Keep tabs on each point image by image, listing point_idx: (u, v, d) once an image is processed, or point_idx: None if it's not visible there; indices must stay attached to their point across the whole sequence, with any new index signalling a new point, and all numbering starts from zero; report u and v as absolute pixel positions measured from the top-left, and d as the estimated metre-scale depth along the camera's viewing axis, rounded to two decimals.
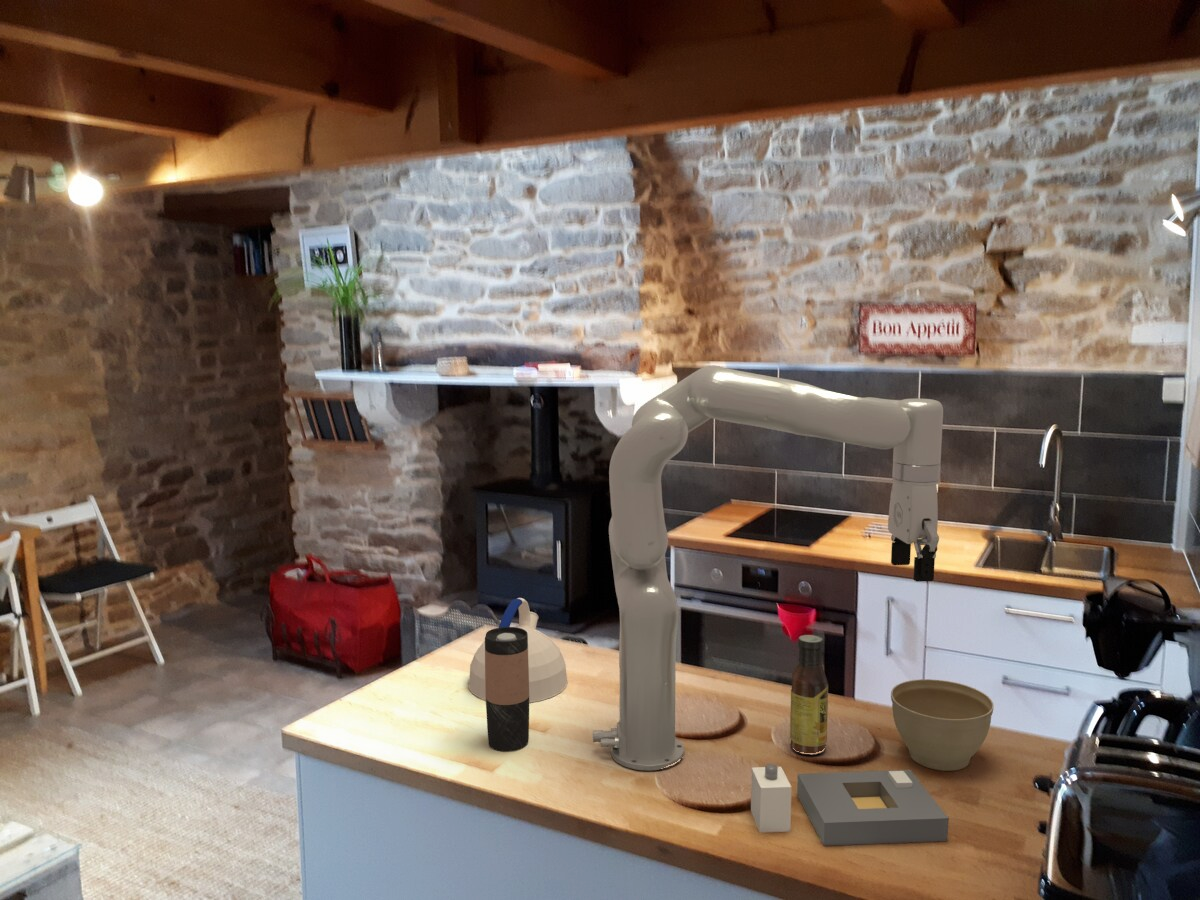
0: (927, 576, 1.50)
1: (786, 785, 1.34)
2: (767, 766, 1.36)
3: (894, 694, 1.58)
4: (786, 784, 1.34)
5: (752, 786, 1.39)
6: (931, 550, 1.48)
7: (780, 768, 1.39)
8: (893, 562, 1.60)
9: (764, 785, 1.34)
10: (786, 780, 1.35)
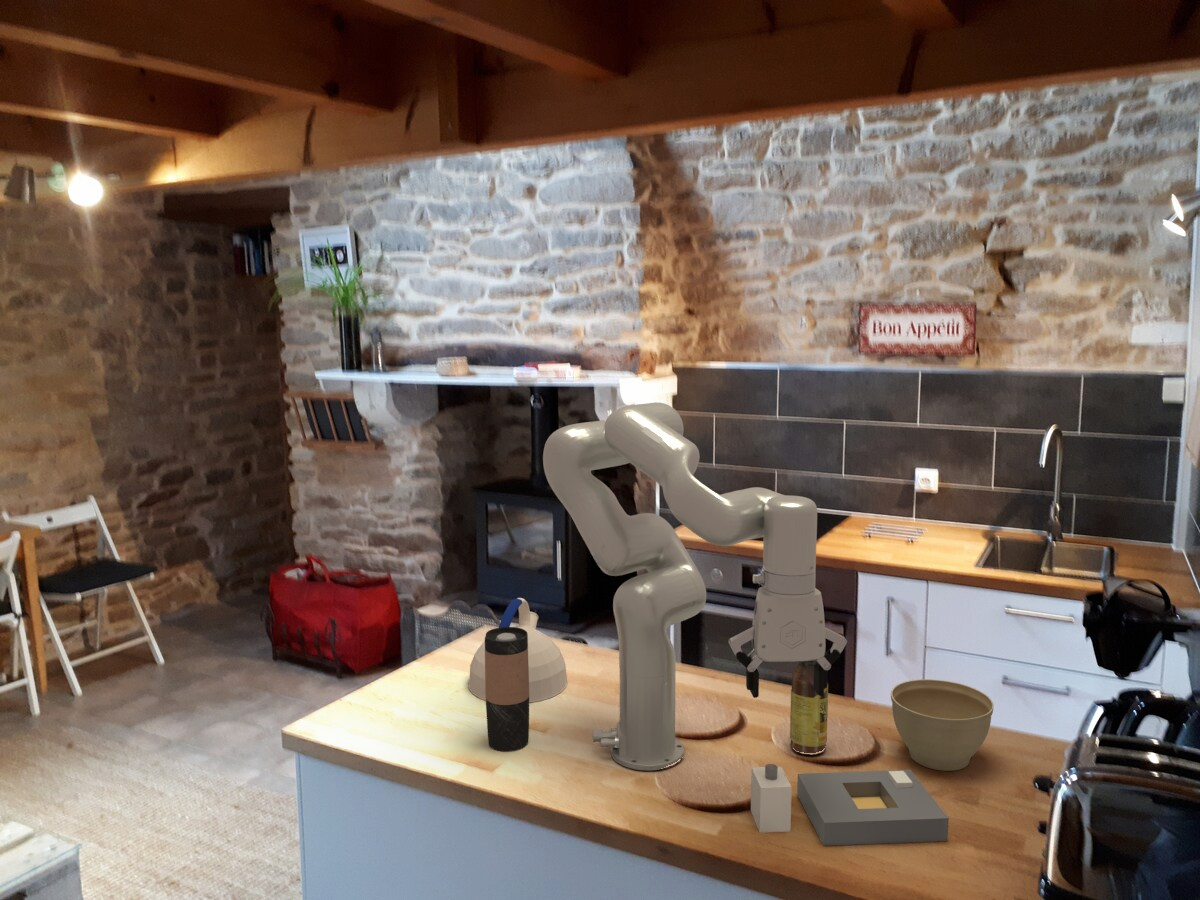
0: None
1: (786, 785, 1.34)
2: (767, 766, 1.36)
3: (894, 694, 1.58)
4: (786, 784, 1.34)
5: (752, 786, 1.39)
6: None
7: (780, 768, 1.39)
8: (757, 694, 1.35)
9: (764, 785, 1.34)
10: (786, 780, 1.35)
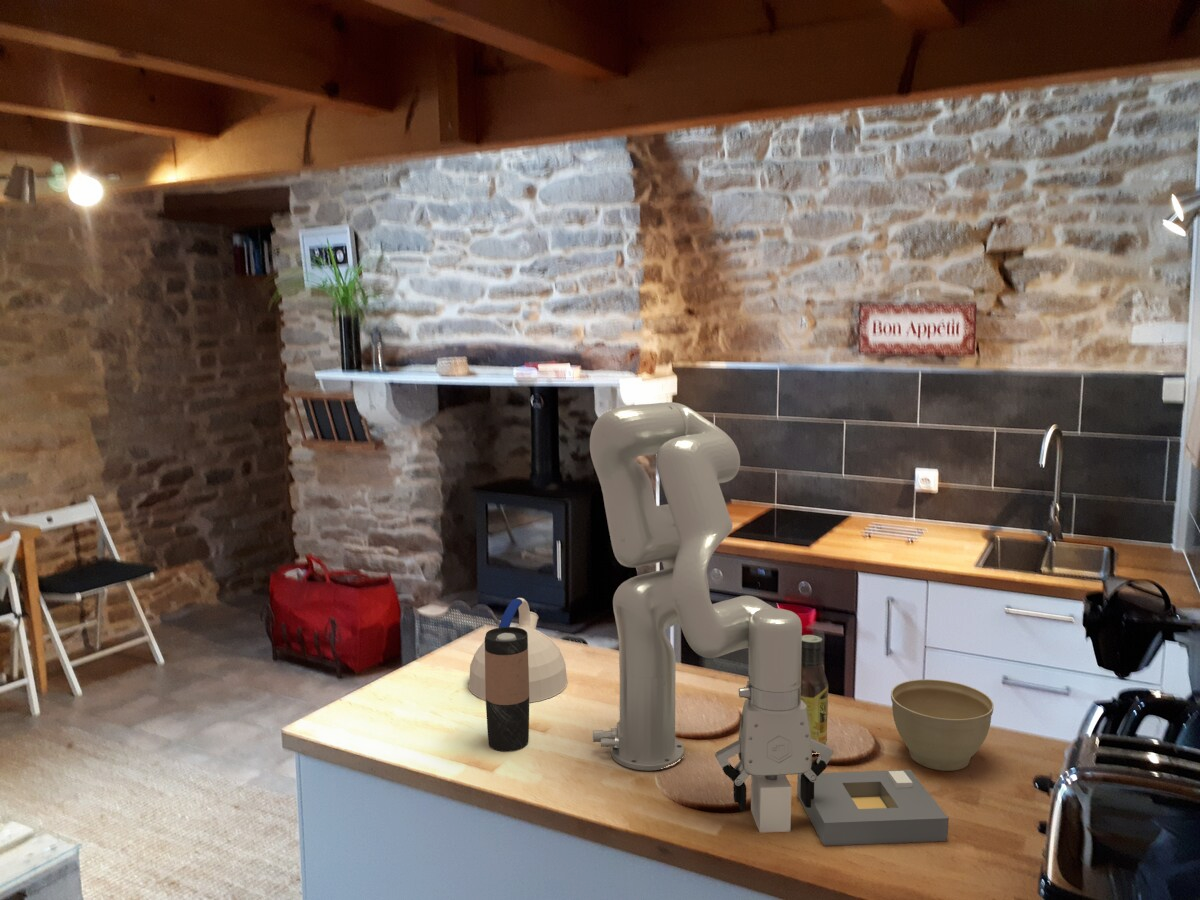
0: None
1: (786, 785, 1.34)
2: None
3: (894, 694, 1.58)
4: (786, 784, 1.34)
5: (752, 786, 1.39)
6: None
7: None
8: (745, 807, 1.35)
9: (764, 785, 1.34)
10: (786, 780, 1.35)
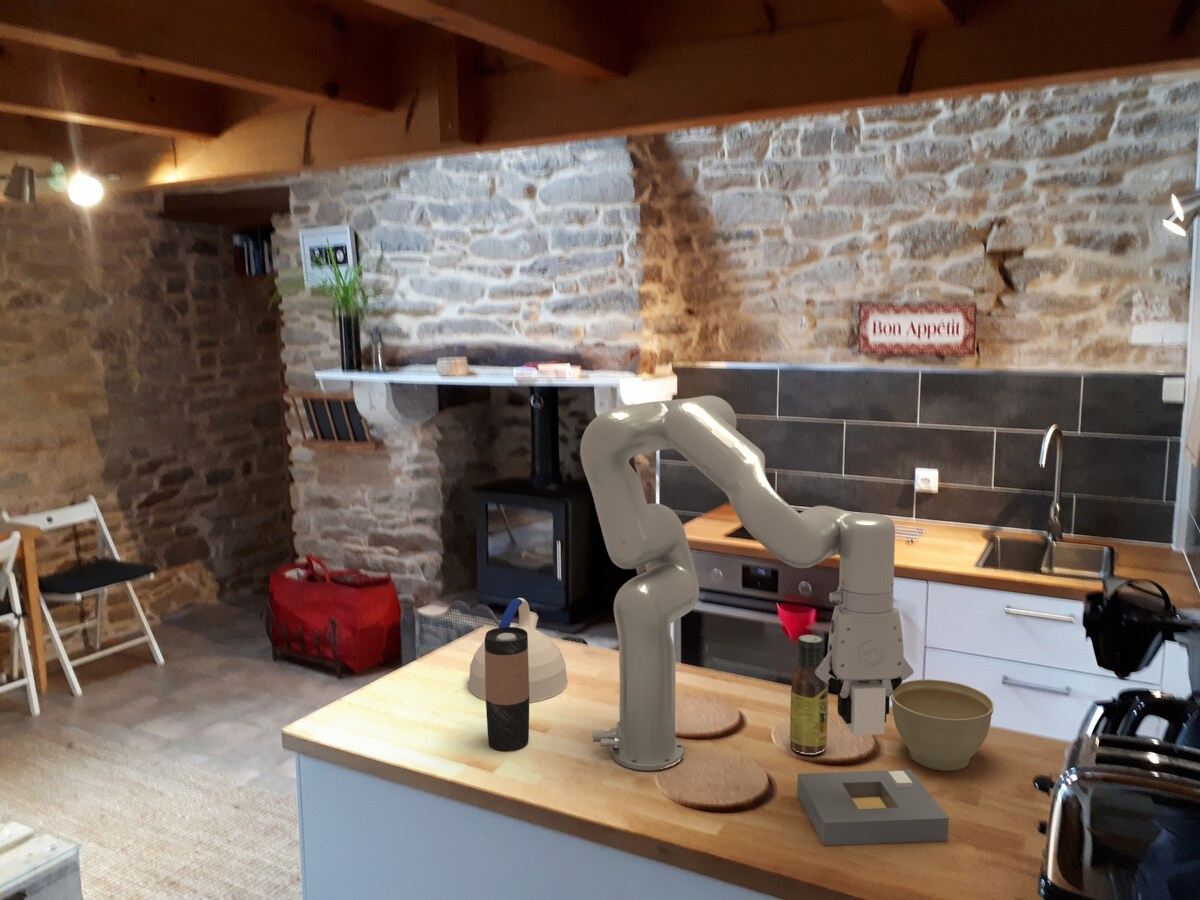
0: None
1: (880, 687, 1.32)
2: None
3: (894, 694, 1.58)
4: (880, 686, 1.33)
5: None
6: None
7: None
8: (850, 720, 1.34)
9: (857, 686, 1.33)
10: (879, 683, 1.34)
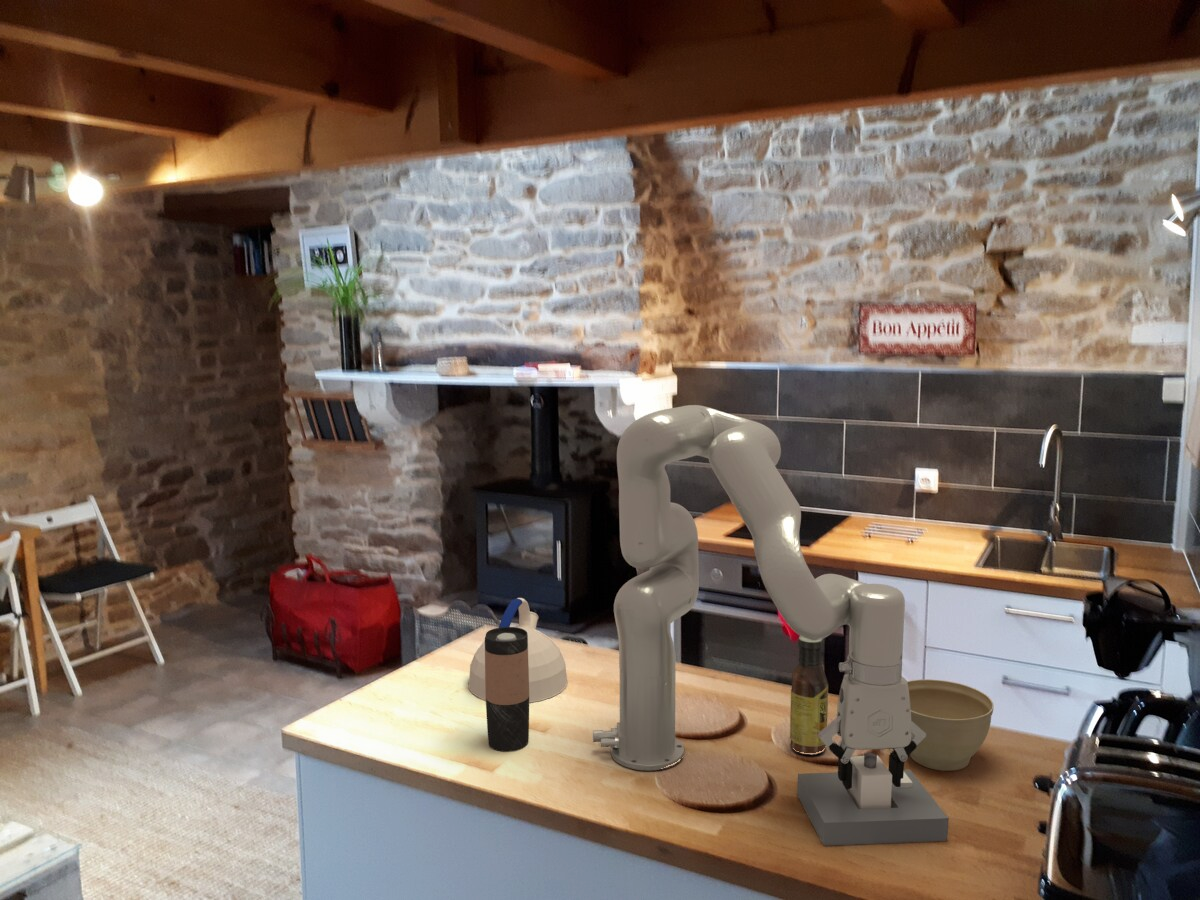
0: None
1: (887, 773, 1.35)
2: (866, 754, 1.37)
3: None
4: (886, 772, 1.35)
5: None
6: None
7: (877, 757, 1.40)
8: (851, 785, 1.36)
9: (864, 773, 1.35)
10: (885, 768, 1.36)
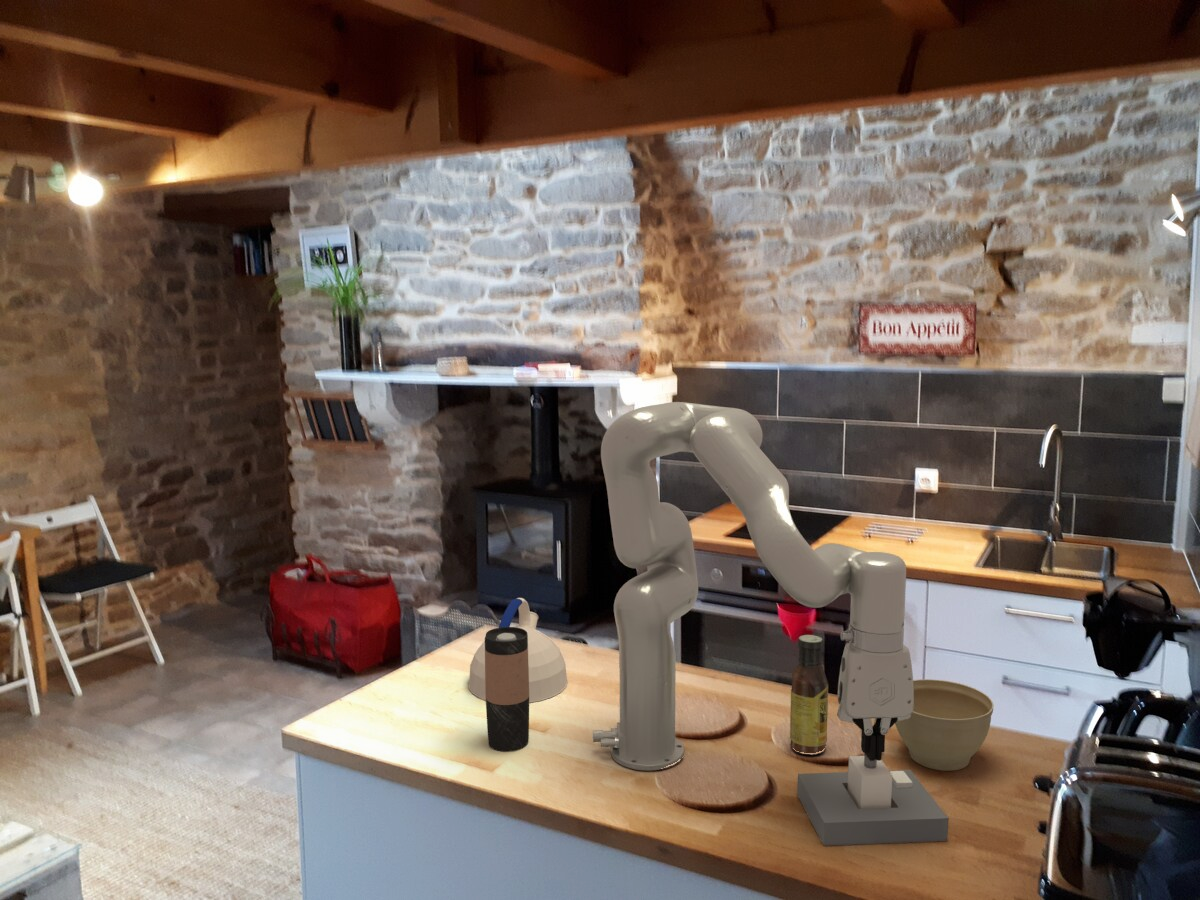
0: None
1: (887, 773, 1.35)
2: None
3: None
4: (886, 772, 1.35)
5: (849, 774, 1.40)
6: None
7: None
8: (874, 757, 1.35)
9: (864, 773, 1.35)
10: (886, 768, 1.36)
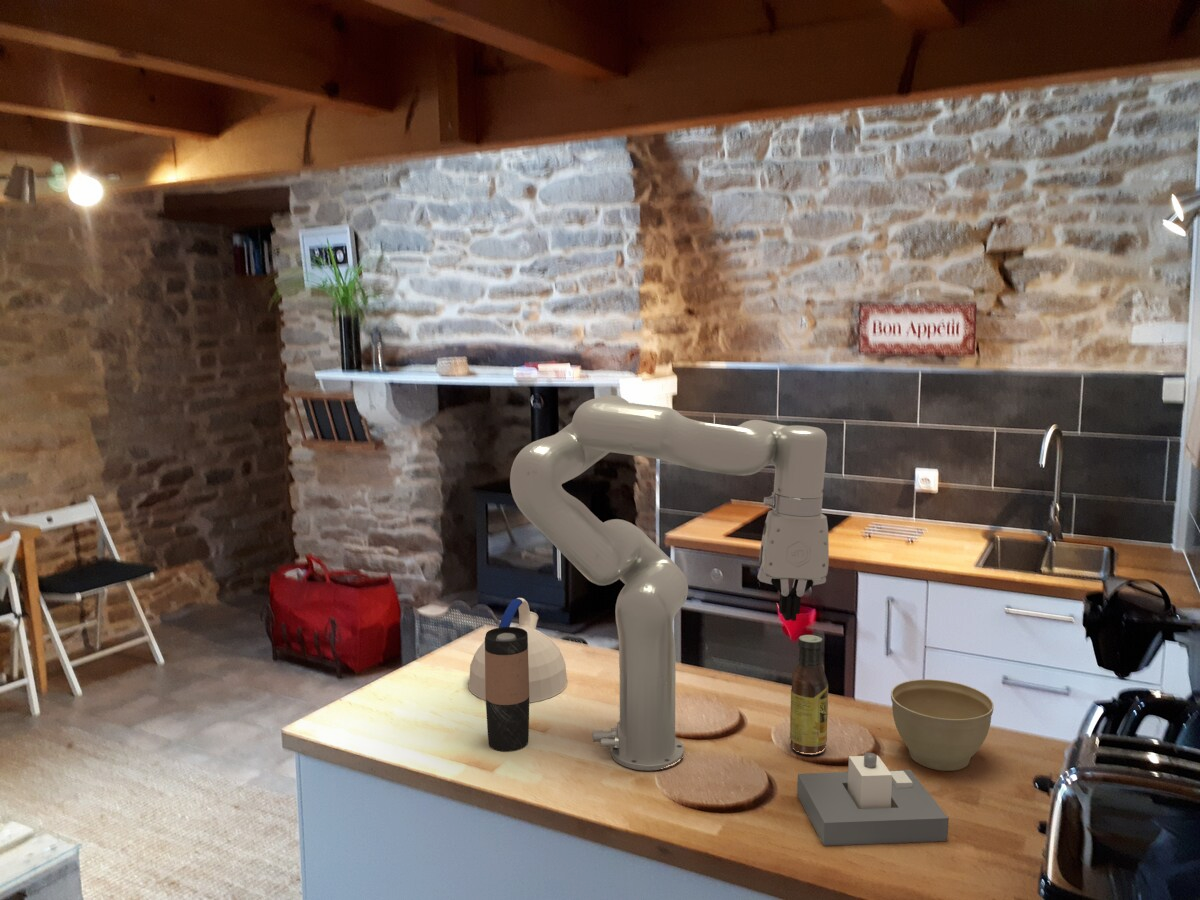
0: None
1: (887, 773, 1.35)
2: (866, 754, 1.37)
3: (894, 694, 1.58)
4: (886, 772, 1.35)
5: (849, 775, 1.40)
6: None
7: (877, 757, 1.40)
8: (789, 617, 1.45)
9: (864, 773, 1.35)
10: (885, 768, 1.36)
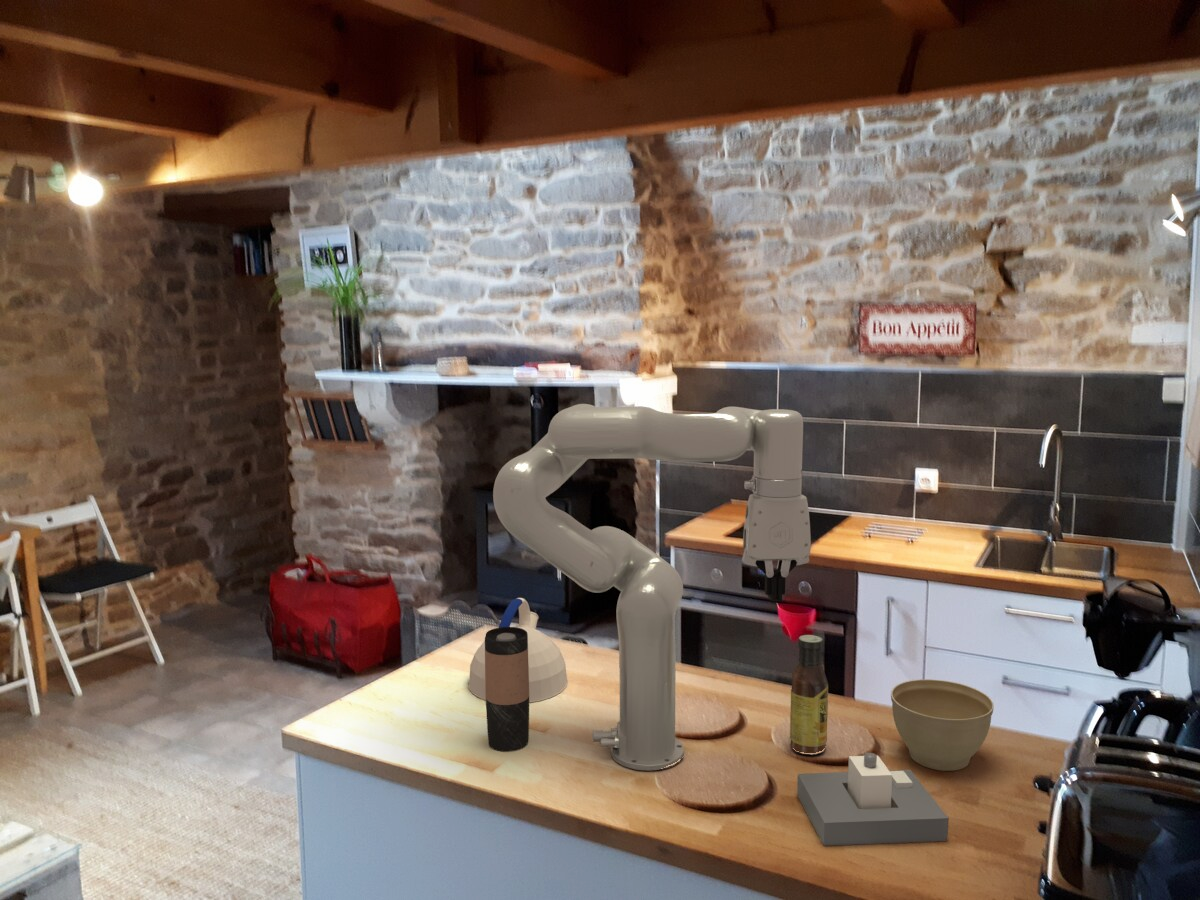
0: None
1: (887, 773, 1.35)
2: (866, 754, 1.37)
3: (894, 694, 1.58)
4: (886, 772, 1.35)
5: (849, 775, 1.40)
6: None
7: (877, 757, 1.40)
8: (775, 598, 1.48)
9: (864, 773, 1.35)
10: (885, 768, 1.36)
